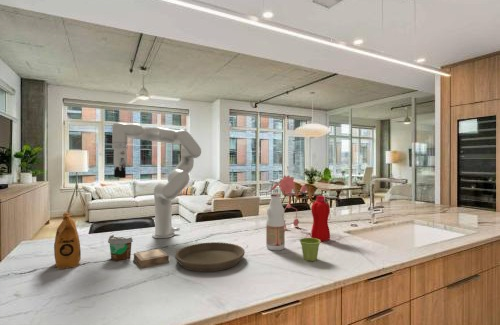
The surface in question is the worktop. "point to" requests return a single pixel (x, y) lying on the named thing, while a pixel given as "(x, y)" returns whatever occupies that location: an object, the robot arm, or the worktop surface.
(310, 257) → the plant pot
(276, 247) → the fruit juice
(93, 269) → the worktop surface
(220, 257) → the plant saucer
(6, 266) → the worktop surface
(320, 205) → the water bottle
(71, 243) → the coffee package
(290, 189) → the figurine
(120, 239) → the food container
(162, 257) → the base
